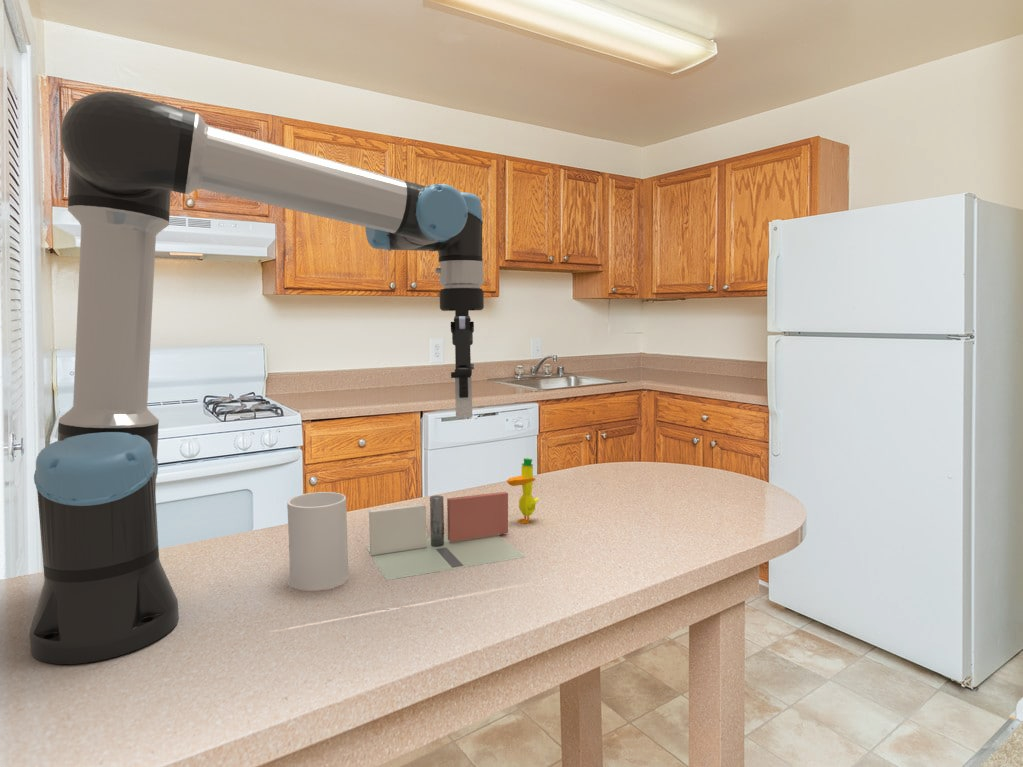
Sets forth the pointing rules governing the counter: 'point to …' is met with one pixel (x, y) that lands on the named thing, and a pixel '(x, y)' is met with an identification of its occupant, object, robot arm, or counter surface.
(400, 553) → the card
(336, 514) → the mug
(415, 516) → the fixed panel
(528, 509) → the toy figure
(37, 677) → the counter surface
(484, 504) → the red panel
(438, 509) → the post
